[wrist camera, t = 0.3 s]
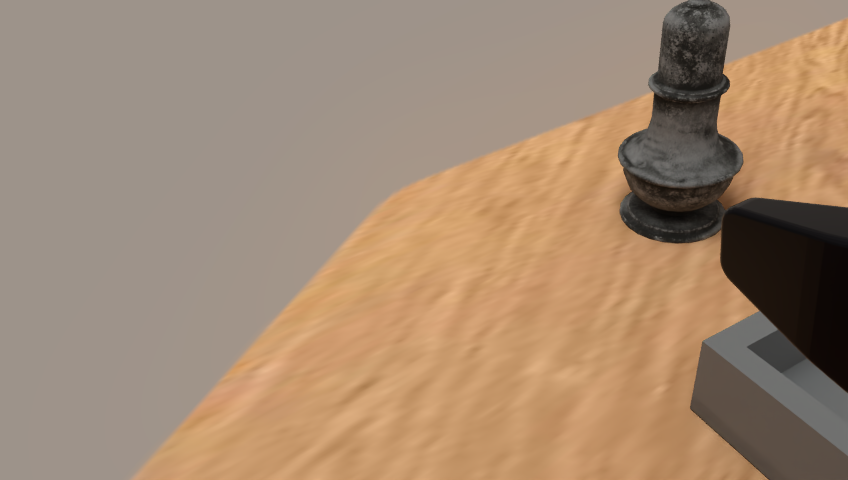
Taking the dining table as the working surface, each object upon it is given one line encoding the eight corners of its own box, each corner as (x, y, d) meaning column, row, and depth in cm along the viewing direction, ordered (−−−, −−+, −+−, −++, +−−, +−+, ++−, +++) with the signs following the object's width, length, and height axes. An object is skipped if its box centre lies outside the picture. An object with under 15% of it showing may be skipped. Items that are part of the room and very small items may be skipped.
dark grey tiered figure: (593, 223, 37) (605, -6, 30) (644, 172, 40) (665, -45, 33) (704, 260, 34) (747, 12, 26) (749, 201, 37) (797, -33, 30)
